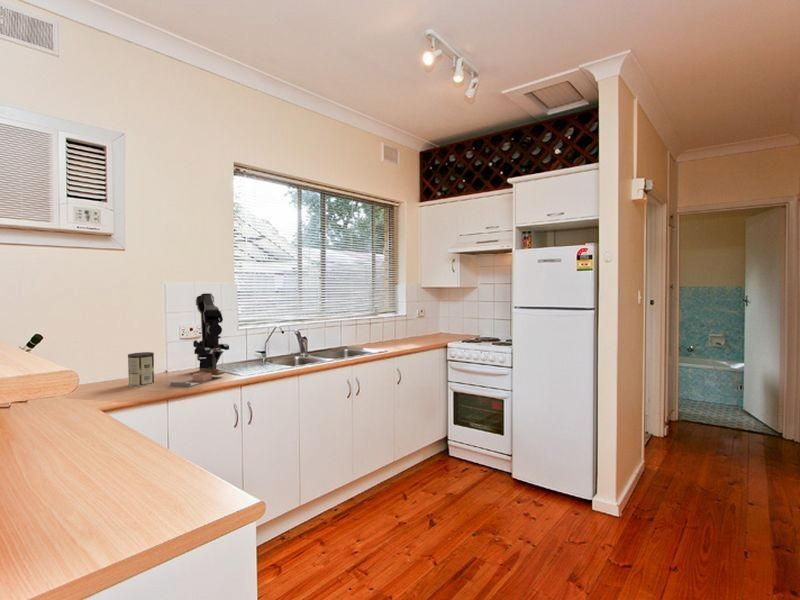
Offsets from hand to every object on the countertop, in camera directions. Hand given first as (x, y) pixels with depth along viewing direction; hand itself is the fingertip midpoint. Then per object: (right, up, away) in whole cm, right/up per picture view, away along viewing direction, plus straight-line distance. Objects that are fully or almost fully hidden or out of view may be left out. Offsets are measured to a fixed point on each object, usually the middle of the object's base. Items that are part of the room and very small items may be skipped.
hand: (212, 366), depth 218 cm
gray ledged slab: (-3, -6, -10) cm, 12 cm away
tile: (-2, -5, -7) cm, 9 cm away
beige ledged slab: (0, -4, 0) cm, 4 cm away
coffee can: (-26, -6, -15) cm, 31 cm away
